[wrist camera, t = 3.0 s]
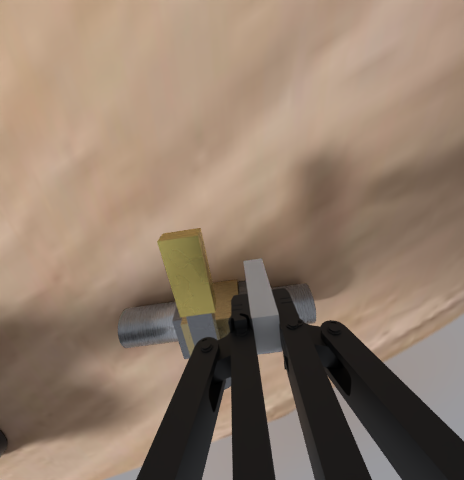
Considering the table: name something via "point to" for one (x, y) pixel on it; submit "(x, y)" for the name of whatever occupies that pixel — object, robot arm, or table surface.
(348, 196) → the table surface
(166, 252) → the lever
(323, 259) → the table surface
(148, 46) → the table surface
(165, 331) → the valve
